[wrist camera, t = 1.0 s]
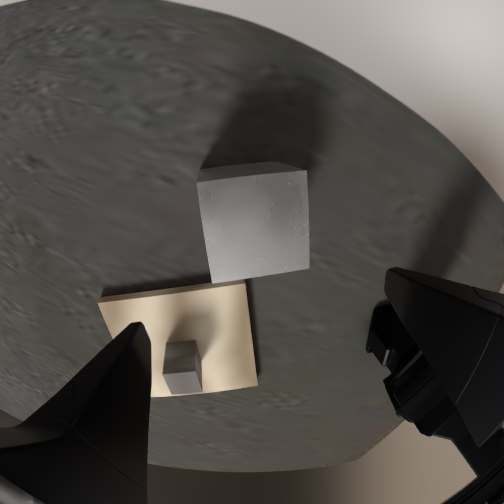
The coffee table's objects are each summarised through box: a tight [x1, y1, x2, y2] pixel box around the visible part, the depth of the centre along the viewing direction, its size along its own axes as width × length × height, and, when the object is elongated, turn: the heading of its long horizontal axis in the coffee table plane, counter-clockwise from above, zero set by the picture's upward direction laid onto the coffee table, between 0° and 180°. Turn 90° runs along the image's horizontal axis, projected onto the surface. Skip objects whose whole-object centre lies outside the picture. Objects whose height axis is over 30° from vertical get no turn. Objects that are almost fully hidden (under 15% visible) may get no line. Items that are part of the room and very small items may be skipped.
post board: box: [98, 279, 258, 397], centre depth 23 cm, size 13×13×5 cm
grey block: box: [197, 161, 309, 284], centre depth 18 cm, size 6×6×7 cm
